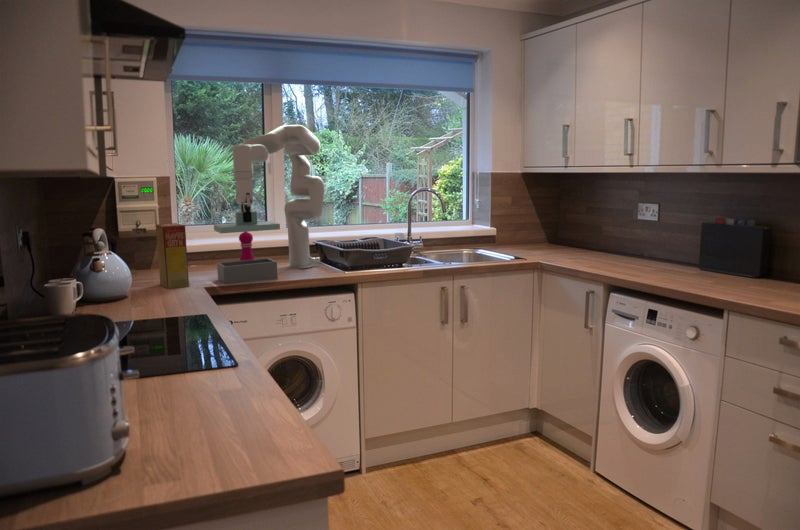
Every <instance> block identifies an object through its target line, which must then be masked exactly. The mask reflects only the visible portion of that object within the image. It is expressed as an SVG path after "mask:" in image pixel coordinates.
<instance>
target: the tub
mask: <svg viewBox="0 0 800 530" xmlns="http://www.w3.org/2000/svg"><path fill="white" fill-rule="evenodd" d="M216 269H217V271H216V272H217V280H218V281H219V282H220V283H222V284H224V285H230V284H241V283H247V282H257V281H258V282H259V281H265V280H266V281H267V280H275V279H278V278H279V277H278V261H276V260H274V259H272V258H269V257H267V258H257V259H255V258H254V260H243V261H240V260H234V261H224V262H222V261H221V262H216Z"/></svg>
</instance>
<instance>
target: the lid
mask: <svg viewBox="0 0 800 530" xmlns="http://www.w3.org/2000/svg"><path fill="white" fill-rule="evenodd" d="M257 214H258V213H257V211H256V210H255V211H254V210H253V211H252V210H251V218H252V222H244V221H243V212H241V211H235V212H234V216H235V223H224V224H223V223H221V224H214V225H213V230H214V232H217V233H219V234H233V233H234V234H235V233H244V232H248V233H250V232H259V231H261V232H262V231H277V230H281V225H280V223H278V222H274V221H271V220H270V221H267V220H266V221H258V215H257Z"/></svg>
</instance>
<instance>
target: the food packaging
mask: <svg viewBox="0 0 800 530" xmlns="http://www.w3.org/2000/svg"><path fill="white" fill-rule="evenodd" d="M155 233H156V245H157V258H158V271H159V272H158V275H159V285H161V287H163V288H165V289H166V290H171V289H178V288H179V289H180V288H186V287H187V288H188V287H190V281H189V280H190V279H189V278H190V277H189V266H188V252H187V251H188V250H187V235H186V225H184V224H179V223H177V222H175V223H173V222H172V223H159V224H155Z"/></svg>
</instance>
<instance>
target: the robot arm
mask: <svg viewBox="0 0 800 530" xmlns="http://www.w3.org/2000/svg"><path fill="white" fill-rule="evenodd" d="M282 149H284V150H285V152H286V154H287V156H288V158H289V160H290V163H291V168H292V169H291V179H290V189H289V190H290V193H291V195H292V196H294V197H299V198H294V199H290V200H288V201H286V202H285V204H284V214H285V218H286V219H285V220H286V227H287V238H288V256H289V257H288V259H289V263H288V264H286V268H296V269H298V270H302V269H303V270H305V269H309V268H313V267H314V262H315V263H316V262H317V263H318V262H320V261H321V257H320V256H319V257H318V256H317V257H312V256H311V255H310V252H311V251H310V236H309V235H310V230H309V226H308V224H307V223H306V221H317V220H319V219H320V218H321V217H322V214H323V207H324V206H323V205H324V198H325V197H324V196H325V184H324V181H323V179H322V178H321V177H320V176H317V175H311V172H312V170H311V163H310V161H309V160H308V159H307V157H306V156H315V155H317V154H318V153H319V152H320V150H321V143H320V140H319V138H318V137H317V136H316V135H315V134H314V133H313V132H311V131H310V129H308V128H307V127H305V126H304V125H301V124H286V125H285V124H284V125H281V126H278V127H276V128H275V129H273V130H272V131H269V132H268V133H266V134H261V135H258V136H256V137H253V138H250V139H247V140H244V141H241V143H239V144H235V145H233V146H232V161H233V177H234V179H233V180H235V200H236V202H235V203H236V204H237V205H240V212H243V221H244V222H252V218H251V211H252V204H253V203H254V194H253V184H252V183H253V181H252V180H254V178H255V177H254V165H253V164H262V163H264V162H266V161H267V160H268V158H269V155H270V154H274V153H278V152H279V151H281V150H282ZM301 197H302V198H301ZM304 198H308V199H304Z"/></svg>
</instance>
